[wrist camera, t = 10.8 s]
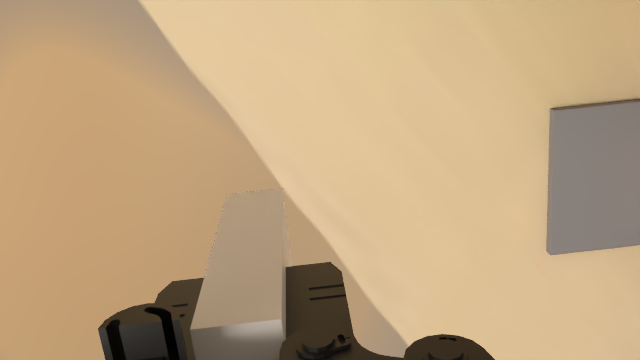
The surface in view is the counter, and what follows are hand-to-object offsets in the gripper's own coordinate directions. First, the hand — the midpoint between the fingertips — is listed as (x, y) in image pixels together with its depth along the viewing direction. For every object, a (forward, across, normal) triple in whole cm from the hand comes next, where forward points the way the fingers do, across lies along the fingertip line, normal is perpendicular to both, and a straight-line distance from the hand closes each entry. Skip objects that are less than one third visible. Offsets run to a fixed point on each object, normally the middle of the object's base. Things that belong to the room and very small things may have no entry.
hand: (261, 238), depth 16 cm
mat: (+29, +30, -11) cm, 44 cm away
